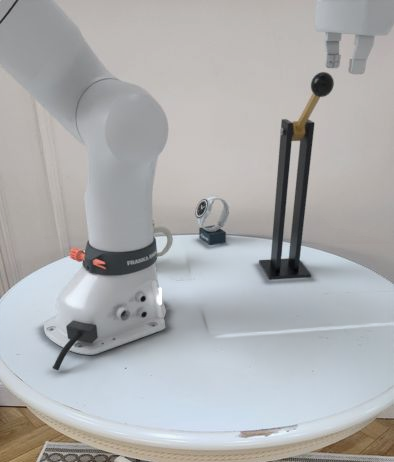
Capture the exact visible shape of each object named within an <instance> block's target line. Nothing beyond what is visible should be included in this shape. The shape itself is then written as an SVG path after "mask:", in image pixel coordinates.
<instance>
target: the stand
mask: <svg viewBox="0 0 394 462" xmlns="http://www.w3.org/2000/svg"><path fill="white" fill-rule="evenodd" d="M292 122H293V121H290V120H288V118H282V119H281V123H280V130H279V131H280V132H279V133H280V136H279V149H278V162H277V172H276V173H277V174H276V175H277V177H276V189H275V199H274V212H273V213H274V214H273V227H272V238H271V249H270V250H271V251H270V252H271V253H270V259H259V260H258V264H259V266H260V268H261V269H262V271H263V272H264V274H265V276H266V277H267V279H268V281H269V280H270V281H271V280H286V279H301V278H303V279H305V278H311V277H312V274H311V272H310V271H309V269H308V268H307V267H306V265H305V264H304V263H303V262H302V260H301V251H302V244H303V243H302V242H303V235H304V233H303V232H304V224H305V223H304V222H305V214H306V205H307V197H308V196H307V195H308V186H309V179H310V169H311V168H310V167H311V160H312V149H313V140H314V131H315V121H313V120H310V119H309V118H308V120H307V122H306V124H305V135H304V136H303V138H302V140H301V141H299V149H298V160H297V167H296V168H297V170H296V178H295V179H296V180H295V190H294V200H293V201H294V202H293V211H292V212H293V213H292V221H291V231H290V240H289V241H290V242H289V251H288V257H287V258H282V257H283V256H282V255H283V245H284V233H285V232H284V231H285V222H286V221H285V220H286V208H287V199H288V186H289V176H290V165H291V164H290V163H291V154H292V153H291V152H292V143H293V141H292V132H293V123H292Z"/></svg>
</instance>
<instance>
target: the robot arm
mask: <svg viewBox="0 0 394 462" xmlns="http://www.w3.org/2000/svg"><path fill="white" fill-rule="evenodd" d="M314 15H315V16H314V29H315V31H316V32H319V33H320V32H322V33H324V38H323V39H324V40H323V43H324V50H325V60H324V66H325V68H326V69H338V68H339V67H340V65H341V57H342V55H341V54H340V42H341V40H342V36H343V34H344V35H353V36H354V41H353V45H355V46H354V50H353V54H352V57H351V58H349V62H348V73H349V74H351V75H363V74H364V73H365V71H366V66H367V60H368V58H369V56H370V54H371V52H372V49H373V47H374V43H375V37H378V36H383V37H384V36H388V35H389V34H390V32H391V30H392V28H393V26H394V0H316V8H315V14H314ZM0 68H2V69H3V70H4V71H5V72H6V73H7V74H8V75H9V76H10V77H11V78H12V79H13V80H14V81H15V82H17V84H19V85H20V87H22V88H23V89H24V90H25V91H27V93H28V94H29V95H30V96H31V97H32V98H33V99H34V100H35V101H36V102H37V103H39V105H40V106H41V107H42V108H44V110H45V111H46V112H47V113H48V114H49V115H50V116H52V118H54V119H55V120H56V121H57V122H58V123H59V124H60V125H61V126H62V127H63V128H64V129H65V130H66V131H67V132H68V133H69V134H70V135H71V136H72V137H73V138H74V139H75V140H76V141H77V142H79V144H82V145H83V146H85V147H86V151H87V157H88V158H87V159H88V165H87V167H88V169H87V183H86V189H85V192H84V194H83V202H84V210H85V219H86V228H87V229H86V230H87V236H88V240H87V242H86V245H85V249H84V250H82V249H79V248H77V247H72V248H71V249H70V252H68V253H69V259H71V260H73V261H76V262H78V263H81V262H82V263H81V264H82V266H81V267H80V268H79V270H78V271H77V272H76V273H75V274H74V276H73V277H72V278H71V279H70V280H69V281H68V283H67V284H66V285H65V286H64V288H63V289H62V290H61V291H60V293H58V295H57V297H56V300H55V316H54V317H52V318H50V319H49V320H47V321H46V322H44V325H43V330H44V334H45V335H46V337H47V338H48V339H49V340H50V341H51V342H53V343H54V344H56V345H57V346H59V347H61V348H62V349H61V351H60V352H59V354H58V355H57V357H56V359H55V361H54V364H53V366H52V369H54V370H56V371H59V370H60V367H61V365H62V363H63V362H64V359H65V358H66V356H67V355H68V353H69V351H70V352H72V353H76V354H81V355H86V356H94V355H98V354H100V353H103V352H105V351H109V350H112V349H114V348H116V347H119V346H122V345H125V344H129V343H131V342H133V341H136V340H140V339H141V338H144V337H147V336H150V335H153V334H155V333H158V332H161V331H163V330H165V329H166V328H167V327H166V320H165V317H166V314H167V308H166V306H165V303H164V300H163V297H162V287H160V285H159V284H160V283H159V278H158V274H157V265H156V262H157V260H158V257H157V253H158V248H157V239H156V237H155V236H153V220H154V217H153V215H154V213H153V190H154V183H155V175H156V170H157V166H158V165H157V164H158V160H159V156H161V153H162V152H163V150H164V149H165V147H166V144H167V141H168V138H169V122H168V118H167V117H168V116H167V114H166V112H165V110H164V109H163V107H162V106H161V104H160V103H159V102H158V101H157V100H156V98H155V97H153V95H152V94H150V92H148V91H147V90H146V89H145V88H143V87H141V86H139V85H137V84H134V83H130V82H127V81H123V80H121V79H120V78H118V77H117V76H115V75H114V74H113V73H112V72H111V71H110V70H109V69H108V68H107V67H106V66H105V65H104V64H103V62H102V61H101V60H100V58H99V57H98V55H97V54H96V53H95V51H94V50H93V49H92V47H91V46H90V45H89V43H88V41H87V40H86V39H85V37H84V35H83V34H82V32H81V30H80V28H79V26H78V25H77V24H76V23H75V22H74V21H73V20H72V18H71V17H70V16H69V15H68V14H67V13H66V12H65V11H64V10H63V9H62V7H60V5H59V4H58V3H57V2H56V1H55V0H0Z"/></svg>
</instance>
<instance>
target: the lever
mask: <svg viewBox="0 0 394 462" xmlns="http://www.w3.org/2000/svg"><path fill="white" fill-rule="evenodd" d="M334 86H335V82H334V77H333V76H332V75H331V74H330V73H329V72H326V71H320V72H318V73H316V74H315V75H314V76H313V78H312V79H311V82H310V90H311V92H312V93H311V95H310V97H309V99H308V101H307V103H306V105H305V107H304V109H303V111H302V112H301V114H300V115H299V118H298V120H293V121H291V122H292V123H293V132H292V142H300V141H301V140H302V138H303V136H304V135H305V124H306V122H307V120H308V119H309V118H310V117H311V115H312V113H313V111H314V110H315V108H316V106H317V104H318V102H319V101H320V99H321V98H325V97H327V96H328V95H330V94H331V92H332V91H333V89H334Z"/></svg>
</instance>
